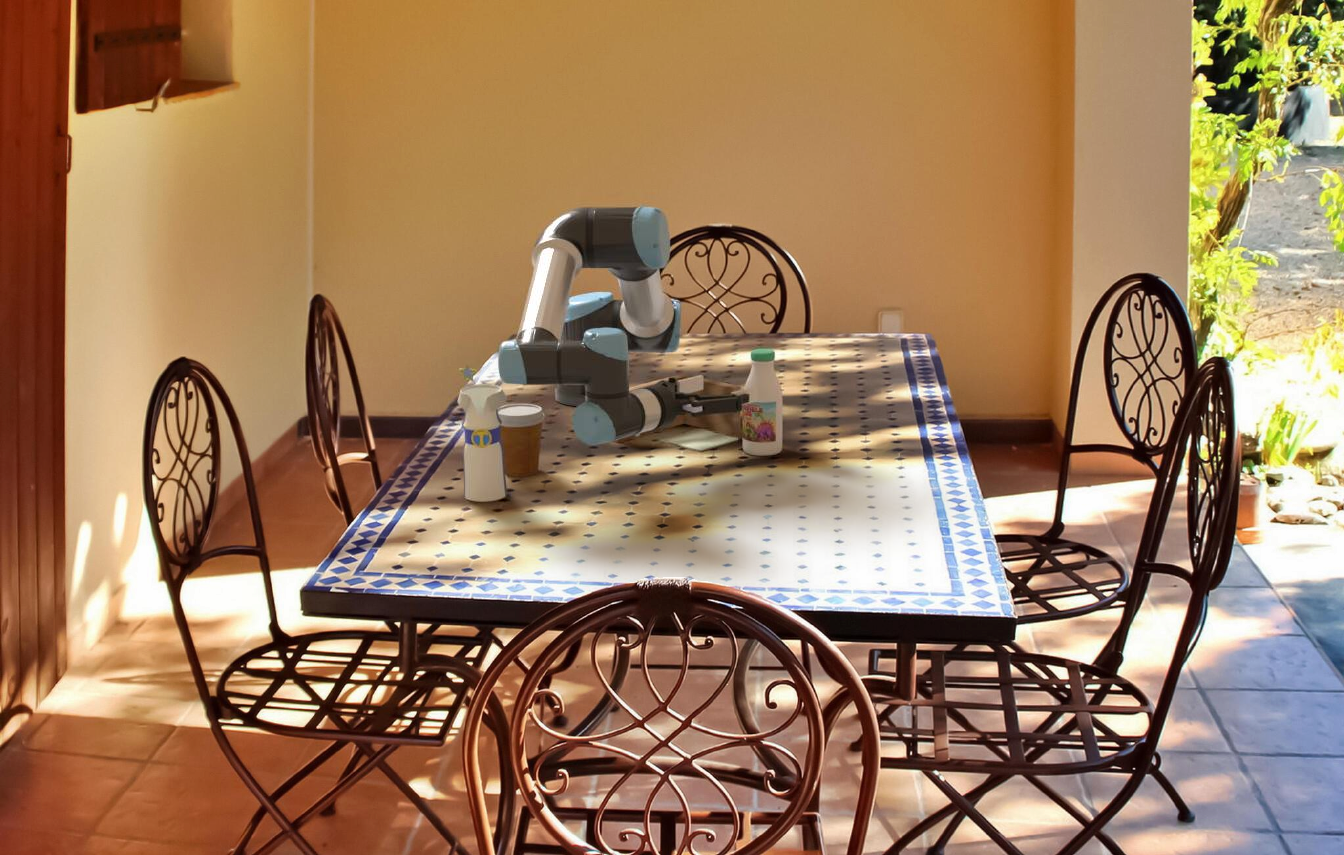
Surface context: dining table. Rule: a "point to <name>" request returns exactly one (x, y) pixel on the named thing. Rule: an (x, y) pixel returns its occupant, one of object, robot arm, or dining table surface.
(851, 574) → the dining table surface
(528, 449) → the disposable coffee cup
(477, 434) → the white tall bottle shape
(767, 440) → the milk bottle
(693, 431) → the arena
